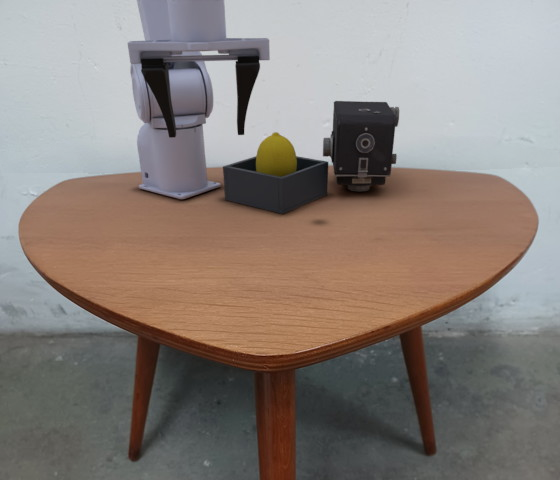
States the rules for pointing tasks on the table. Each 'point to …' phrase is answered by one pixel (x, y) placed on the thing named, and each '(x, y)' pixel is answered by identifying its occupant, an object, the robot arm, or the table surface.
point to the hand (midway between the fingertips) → (206, 134)
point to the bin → (275, 185)
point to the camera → (362, 143)
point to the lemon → (276, 156)
